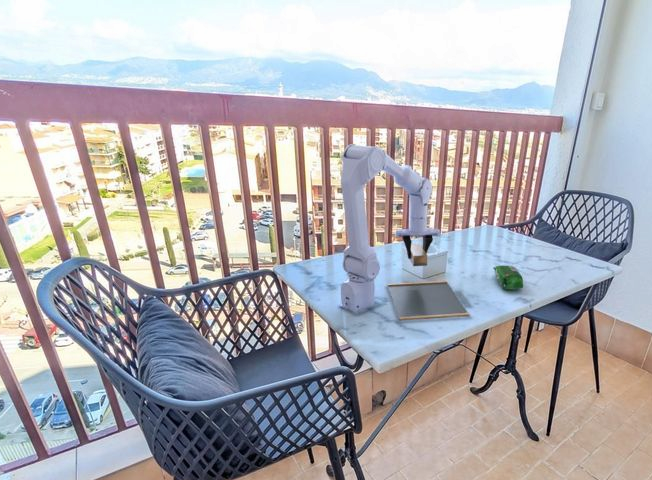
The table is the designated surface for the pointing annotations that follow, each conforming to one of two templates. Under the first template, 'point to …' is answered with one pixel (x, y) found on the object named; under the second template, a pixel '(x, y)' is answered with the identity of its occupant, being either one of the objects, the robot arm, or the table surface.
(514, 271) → the snack package
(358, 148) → the robot arm
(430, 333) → the table surface
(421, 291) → the slate board
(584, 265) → the table surface
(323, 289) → the table surface
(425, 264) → the eraser
